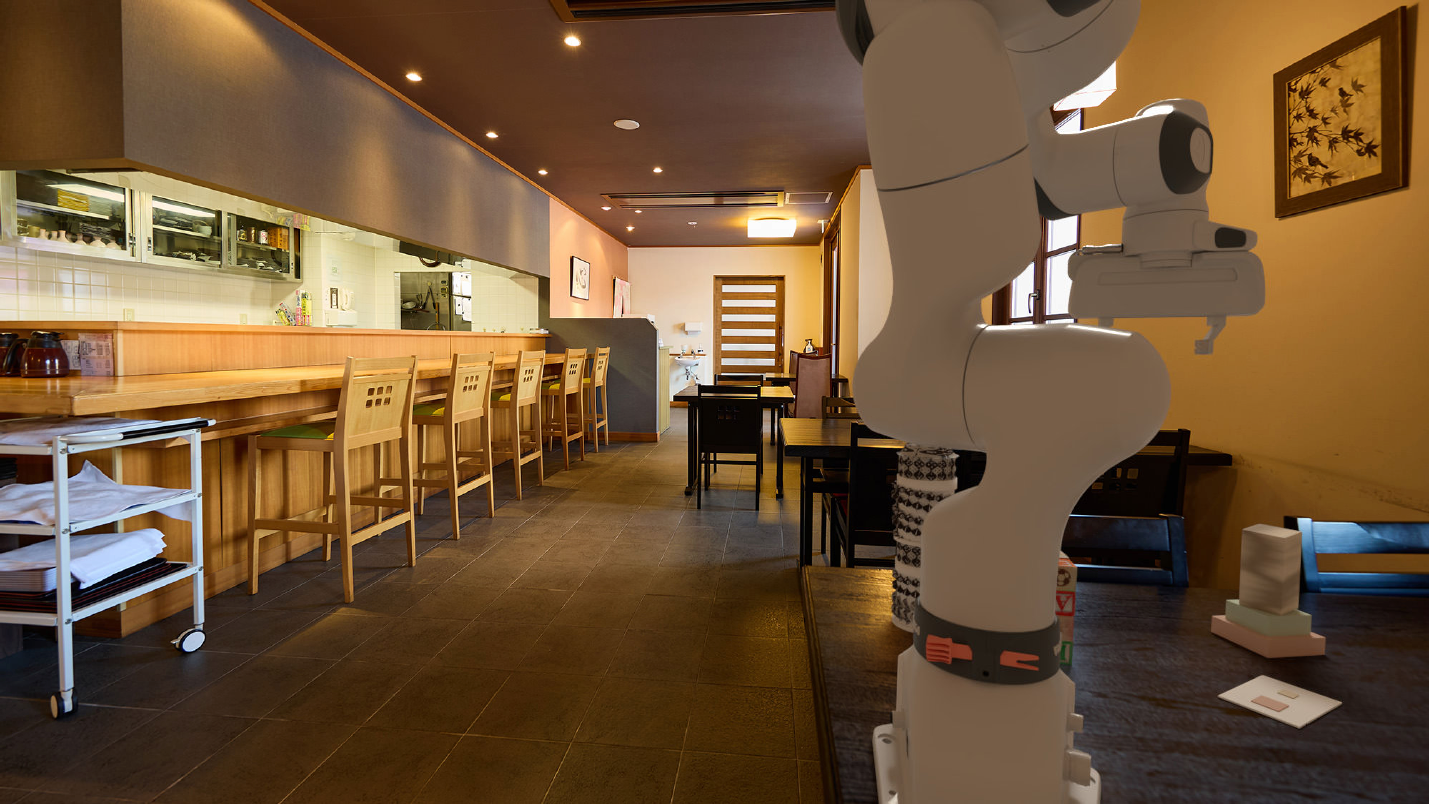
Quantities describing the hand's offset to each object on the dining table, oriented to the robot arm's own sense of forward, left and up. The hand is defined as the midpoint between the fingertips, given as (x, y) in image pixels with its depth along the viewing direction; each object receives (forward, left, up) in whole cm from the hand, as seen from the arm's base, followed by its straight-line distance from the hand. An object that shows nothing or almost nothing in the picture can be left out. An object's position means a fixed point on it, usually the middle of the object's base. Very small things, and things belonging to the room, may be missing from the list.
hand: (1158, 354), depth 83 cm
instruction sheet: (-11, -10, -37) cm, 40 cm away
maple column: (+7, -15, -32) cm, 36 cm away
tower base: (+7, -15, -38) cm, 41 cm away
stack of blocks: (0, +14, -38) cm, 40 cm away
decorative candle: (-3, +27, -37) cm, 46 cm away
